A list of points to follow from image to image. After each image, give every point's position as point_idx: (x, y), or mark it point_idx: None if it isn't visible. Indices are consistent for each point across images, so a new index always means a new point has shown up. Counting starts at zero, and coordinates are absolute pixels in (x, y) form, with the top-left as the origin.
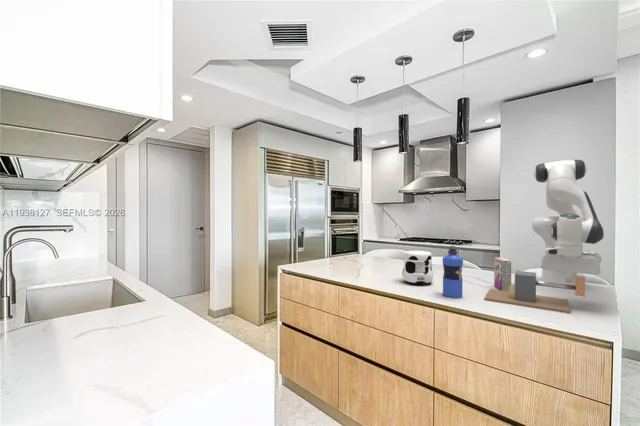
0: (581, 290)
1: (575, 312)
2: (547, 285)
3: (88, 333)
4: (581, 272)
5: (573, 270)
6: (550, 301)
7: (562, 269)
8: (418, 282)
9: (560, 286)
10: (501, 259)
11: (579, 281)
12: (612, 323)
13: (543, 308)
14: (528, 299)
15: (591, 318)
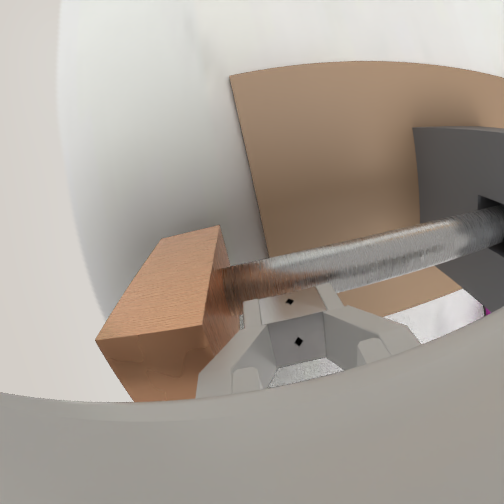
0: (171, 251)
1: (213, 127)
2: (434, 221)
3: None
4: (108, 410)
5: (242, 425)
6: (357, 225)
7: (457, 363)
8: None
9: (348, 242)
10: None
11: (168, 297)
12: (62, 81)
13: (360, 63)
14: (446, 126)
15: (133, 76)
